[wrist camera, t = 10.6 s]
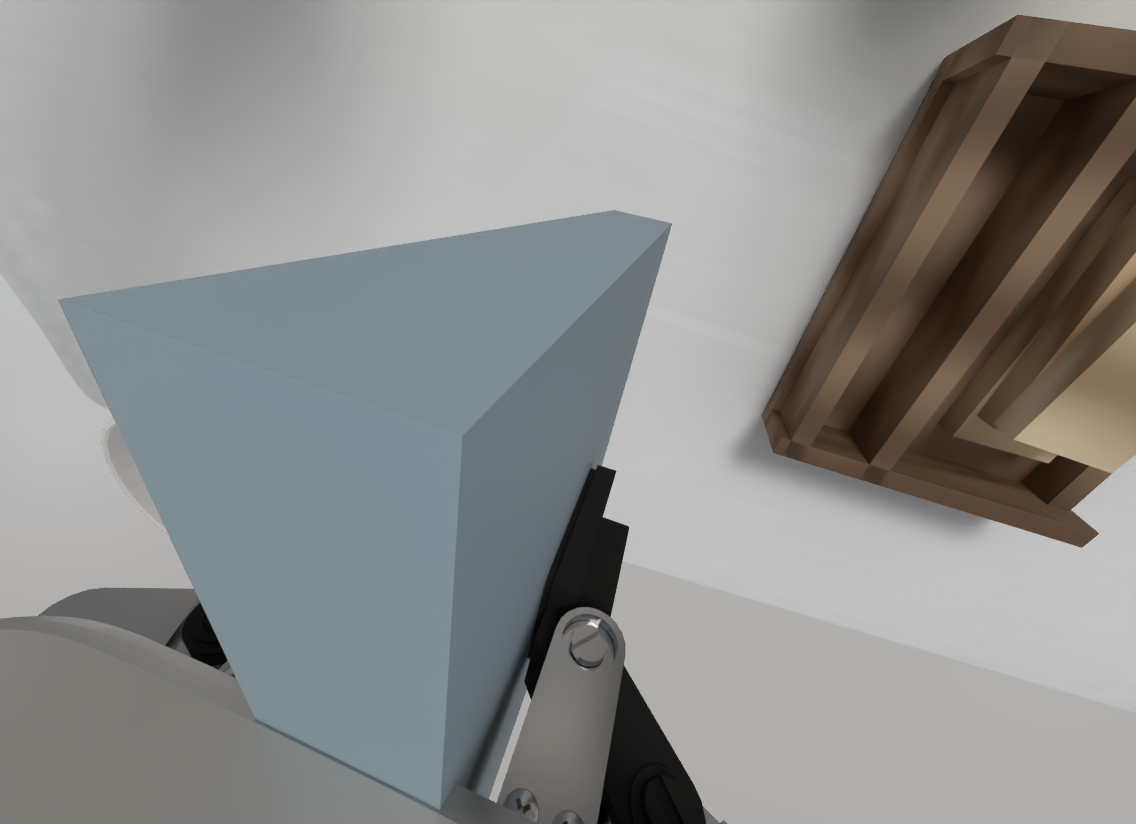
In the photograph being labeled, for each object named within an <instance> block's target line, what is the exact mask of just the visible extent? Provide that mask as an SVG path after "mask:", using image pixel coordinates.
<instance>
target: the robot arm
mask: <svg viewBox="0 0 1136 824" xmlns="http://www.w3.org/2000/svg"><path fill="white" fill-rule="evenodd" d="M615 474H616V471H615V470H612V469H609V468H606V467H603V466H600V465H597V468H596V470H595V469H592V468H590V471H589V473H588V476H587V478H586V481H585V483H584V486H583V488H582V491H581V493H580V496H579V498H578V501H577V503H576V506H575V508H574V511H573V513H572V516H571V518H570V521H569V523H568V526H567V528H566V531H565V533H564V536H563V538H562V541H561V543H560V546H559V548H558V551H557V553H556V556H555V558H554V561H553V563H552V566H551V568H550V571H549V574H548V577H547V580H546V583H545V587H544V591H543V595H542V599H541V603H540V607H539V611H538V615H537V619H536V623H535V627H534V631H533V635H532V639H531V643H530V647H529V651H528V655H527V658H529V659H530V661H529V665H528V669H527V673H526V676H525V680H524V683H525V685H526V688H527V690H528V693H529V695H530V698H531V703H530V706H529V709H528V712H527V715H526V718H525V721H524V724H523V726H522V729H521V732H520V736H519V738H518V741H517V744H516V747H515V750H514V753H513V756H512V759H511V762H510V765H509V768H508V771H507V774H506V777H505V780H504V783H503V785H502V788H501V792H500V795H499V797H498V800H497V803H495V802H493V801H491V800H489V799H487V798H485V797H483V796H481V795H479V794H477V793H475V792H473V791H471V790H468V789H466V788H464V787H462V786H460V785H458V784H455V785H454V787H453V789H452V790H451V792H450V794H449V796H448V797H447V799H446V801H445V802H444V804H443V806H442V808H441V809H440V810H438V809H436V808H434V807H432V806H430V805H428V804H426V803H424V802H422V801H420V800H418V799H416V798H414V797H412V796H410V795H408V794H406V793H404V792H402V791H400V790H398V789H396V788H394V787H392V786H390V785H388V784H386V783H384V782H382V781H380V780H378V779H376V778H374V777H372V776H370V775H368V774H366V773H364V772H362V771H359V770H357V769H355V768H353V767H351V766H349V765H347V764H345V763H343V762H341V761H339V760H337V759H335V758H333V757H331V756H329V755H327V754H325V753H323V752H321V751H319V750H317V749H315V748H313V747H311V746H309V745H307V744H305V743H303V742H301V741H299V740H297V739H295V738H293V737H291V736H289V735H286V734H284V733H282V732H280V731H278V730H276V729H274V728H272V727H270V726H268V725H266V724H264V723H262V722H260V721H258V720H256V719H255V717H254V715H253V713H252V711H251V708H250V706H249V704H248V702H247V700H246V698H245V696H244V694H243V691H242V689H241V687H240V685H239V683H238V681H237V679H236V677H235V675H234V672H233V670H232V668H231V666H230V664H229V662H228V660H227V658H226V655H225V653H224V651H223V649H222V647H221V645H220V643H219V641H218V638H217V636H216V634H215V632H214V630H213V628H212V626H211V624H210V621H209V619H208V617H207V615H206V613H205V611H204V609H203V607H202V605H201V602H200V600H199V598H198V596H197V594H196V592H195V590H194V589H166V588H165V589H164V588H161V589H160V588H158V589H157V588H99V589H90V590H86V591H83V592H80V593H77V594H74V595H71V596H68V597H67V598H65V599H63V600H61V601H59V602H57V603H55V604H53V605H51V606H50V607H49V608H47V609H46V610H45V611H44V612H42V613H41V614H40V615H39V616H28V617H12V618H2V619H0V824H727V823H726V822H725V821H722V822H721V823H719V822H718V821H717V820H716V819H715V818H714V817H713V816H712V815H711V814H710V813H709V812H708V811H707V810H706V809H705V808H704V807H703V806H702V802H701V799H700V797H699V795H698V793H697V791H696V788H695V786H694V784H693V783H692V781H691V779H690V777H689V776H688V774H687V772H686V771H685V769H684V767H683V765H682V764H681V762H680V760H679V759H678V757H677V755H676V754H675V752H674V750H673V748H672V747H671V745H670V743H669V742H668V740H667V738H666V736H665V735H664V733H663V731H662V730H661V728H660V726H659V725H658V723H657V721H656V719H655V718H654V716H653V714H652V713H651V711H650V709H649V708H648V706H647V704H646V702H645V701H644V699H643V697H642V696H641V694H640V692H639V690H638V689H637V687H636V685H635V684H634V682H633V680H632V678H631V677H630V675H629V674H628V672H627V670H626V668H625V667H624V659H625V641H624V638H623V634H622V632H621V630H620V629H619V627H618V625H617V624H616V622H615V621H614V620H613V619H612V618H610V617H611V612H612V607H613V602H614V598H615V593H616V588H617V583H618V579H619V574H620V569H621V564H622V560H623V555H624V550H625V545H626V541H627V536H628V531H629V526H626V525H623V524H620V523H617V522H615V521H612V520H609V519H606V518H603V514H604V510H605V507H606V504H607V500H608V497H609V494H610V490H611V487H612V484H613V480H614V477H615Z"/></svg>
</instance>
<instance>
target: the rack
mask: <svg viewBox="0 0 1136 824" xmlns="http://www.w3.org/2000/svg"><path fill="white" fill-rule="evenodd" d="M1129 178H1136V31H1133V30H1126V29H1119V28H1111V27H1104V26H1096V25H1089V24H1082V23H1074V22H1067V21H1060V20H1052V19H1045V18H1037V17H1030V16H1023V15H1017V16H1015V17H1013V18H1012V19H1010V20H1008V21H1006V22H1005V23H1003V24H1001V25H1000V26H998V27H996V28H995V29H993V30H991V31H989V32H988V33H986V34H984V35H983V36H981V37H979V38H977V39H976V40H974V41H972V42H971V43H969V44H967V45H965V46H964V47H962V48H960V49H959V50H957V51H955V52H953V53H952V54H950V55H948V56H947V57H945V59H944V61H943V63H942V65H941V67H940V69H939V71H938V73H937V75H936V77H935V79H934V81H933V83H932V85H931V87H930V89H929V91H928V93H927V95H926V96H925V98H924V100H923V102H922V104H921V106H920V108H919V110H918V112H917V114H916V116H915V118H914V120H913V122H912V124H911V126H910V128H909V130H908V132H907V134H906V136H905V138H904V139H903V141H902V143H901V145H900V147H899V149H898V151H897V153H896V155H895V157H894V159H893V161H892V163H891V165H890V167H889V169H888V171H887V173H886V175H885V177H884V179H883V181H882V182H881V184H880V186H879V188H878V190H877V192H876V194H875V196H874V198H873V200H872V202H871V204H870V206H869V208H868V210H867V212H866V214H865V216H864V218H863V220H862V222H861V224H860V225H859V227H858V229H857V231H856V233H855V235H854V237H853V239H852V241H851V243H850V245H849V247H848V249H847V251H846V253H845V255H844V257H843V259H842V261H841V263H840V265H839V267H838V268H837V270H836V272H835V274H834V276H833V278H832V280H831V282H830V284H829V286H828V288H827V290H826V292H825V294H824V296H823V298H822V300H821V302H820V304H819V306H818V308H817V310H816V311H815V313H814V315H813V317H812V319H811V321H810V323H809V325H808V327H807V329H806V331H805V333H804V335H803V337H802V339H801V341H800V343H799V345H798V347H797V349H796V351H795V353H794V354H793V356H792V358H791V360H790V362H789V364H788V366H787V368H786V370H785V372H784V374H783V376H782V378H781V380H780V382H779V384H778V386H777V388H776V390H775V392H774V394H773V396H772V397H771V399H770V401H769V403H768V405H767V407H766V409H765V411H764V413H763V415H762V417H763V420H764V423H765V427H766V430H767V434H768V437H769V440H770V444H771V447H772V450H773V453H776V454H779V455H782V456H786V457H789V458H792V459H795V460H799V461H802V462H805V463H808V464H812V465H815V466H818V467H821V468H825V469H828V470H831V471H834V472H838V473H841V474H844V475H847V476H851V477H854V478H857V479H860V480H864V481H867V482H870V483H873V484H877V485H880V486H883V487H886V488H890V489H893V490H896V491H899V492H903V493H906V494H909V495H912V496H916V497H919V498H922V499H926V500H929V501H932V502H935V503H939V504H942V505H945V506H948V507H952V508H955V509H958V510H961V511H965V512H968V513H971V514H974V515H978V516H981V517H984V518H987V519H991V520H994V521H997V522H1000V523H1004V524H1007V525H1010V526H1013V527H1017V528H1020V529H1023V530H1026V531H1030V532H1033V533H1036V534H1039V535H1043V536H1046V537H1049V538H1052V539H1056V540H1059V541H1062V542H1065V543H1069V544H1072V545H1075V546H1078V547H1083V546H1085V545H1086V544H1087V543H1088V542H1089V541H1091V540H1092V539H1093V538H1094V537H1096V536H1097V535H1098V534H1099V533H1098V532H1097V531H1095V530H1094V529H1093V528H1092V527H1091V526H1089V525H1088V524H1087V523H1086V522H1085V521H1083V520H1082V519H1081V518H1080V517H1079V516H1077V515H1076V514H1075V513H1074V512H1072V511H1071V509H1072V508H1073V507H1075V506H1076V505H1077V504H1078V503H1079V502H1080V501H1081V500H1082V499H1084V498H1085V497H1086V496H1087V495H1088V494H1089V493H1090V492H1091V491H1093V490H1094V489H1095V488H1096V487H1097V486H1098V485H1099V484H1101V483H1102V482H1103V481H1104V480H1105V479H1106V478H1107V477H1108V476H1110V475H1111V474H1112V473H1109V472H1106V471H1103V470H1100V469H1098V468H1095V467H1092V466H1089V465H1086V464H1083V463H1080V462H1077V461H1074V460H1071V459H1069V458H1066V457H1063V456H1060V455H1057V456H1056V457H1055V458H1054V459H1053V460H1052V461H1051V462H1050V463H1045V462H1042V461H1038V460H1035V459H1031V458H1028V457H1024V456H1020V455H1017V454H1013V453H1010V452H1006V451H1003V450H999V449H996V448H992V447H989V446H985V445H982V444H978V443H974V442H971V441H967V440H964V439H960V438H957V437H953V436H952V435H951V434H950V433H948V432H947V431H946V430H945V429H944V428H943V427H942V426H941V425H940V424H939V423H938V422H939V421H940V420H941V419H942V417H943V416H944V415H945V414H946V412H947V411H948V410H949V408H950V407H951V406H952V405H953V403H954V402H955V401H956V399H957V398H958V397H959V396H960V394H961V393H962V392H963V390H964V389H965V388H966V387H967V385H968V384H969V383H970V382H971V380H972V379H973V378H974V376H975V375H976V374H977V373H978V371H979V370H980V369H981V367H982V366H983V365H984V364H985V362H986V361H987V360H988V359H989V357H990V356H991V355H992V353H993V352H994V351H995V350H996V348H997V347H998V346H999V344H1000V343H1001V342H1002V341H1003V339H1004V338H1005V337H1006V335H1007V334H1008V333H1009V332H1010V330H1011V329H1012V328H1013V327H1014V325H1015V324H1016V323H1017V321H1018V320H1019V319H1020V318H1021V316H1022V315H1023V314H1024V312H1025V311H1026V310H1027V309H1028V307H1029V306H1030V305H1031V304H1032V302H1033V301H1034V300H1035V298H1036V297H1037V296H1038V295H1039V293H1040V292H1041V291H1042V289H1043V288H1044V287H1045V286H1046V284H1047V283H1048V282H1049V280H1050V279H1051V278H1052V277H1053V275H1054V274H1055V273H1056V272H1057V270H1058V269H1059V268H1060V266H1061V265H1062V264H1063V263H1064V261H1065V260H1066V259H1067V257H1068V256H1069V255H1070V254H1071V252H1072V251H1073V250H1074V248H1075V247H1076V246H1077V245H1078V243H1079V242H1080V241H1081V240H1082V238H1083V237H1084V236H1085V234H1086V233H1087V232H1088V231H1089V229H1090V228H1091V227H1092V225H1093V224H1094V223H1095V222H1096V220H1097V219H1098V218H1099V217H1100V215H1101V214H1102V213H1103V211H1104V210H1105V209H1106V208H1107V206H1108V205H1109V204H1110V202H1111V201H1112V200H1113V199H1114V197H1115V196H1116V195H1117V193H1118V192H1119V191H1120V190H1121V188H1122V187H1123V186H1124V185H1125V183H1126V182H1127V181H1128V179H1129Z"/></svg>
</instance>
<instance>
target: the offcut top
mask: <svg viewBox="0 0 1136 824" xmlns="http://www.w3.org/2000/svg"><path fill="white" fill-rule="evenodd" d="M992 424H994V425H995V426H996V427H998V428H999V429H1000V430H1002V431H1003V432H1004V433H1006V434H1007V435H1008V436H1010V437H1011V438H1012V439H1014V440H1016V441H1019V442H1022V443H1025V444H1028V445H1031V446H1034V447H1037V448H1040V449H1042V450H1045V451H1048V452H1051V453H1054V454H1057V455H1060V456H1063V457H1066V458H1069V459H1071V460H1074V461H1077V462H1080V463H1083V464H1086V465H1089V466H1092V467H1095V468H1098V469H1100V470H1103V471H1106V472H1109V473H1113V472H1114V471H1115V470H1117V469H1118V468H1119V467H1120V466H1122V465H1123V464H1124V463H1126V462H1127V461H1128V460H1129V459H1131V458H1132V457H1133V456H1134V455H1136V278H1135V279H1134V280H1133V281H1132V282H1131V283H1130V284H1129V285H1128V286H1127V287H1126V288H1125V289H1124V290H1123V291H1122V292H1121V293H1120V294H1119V295H1118V296H1117V297H1116V298H1115V299H1114V300H1113V301H1112V302H1111V303H1110V304H1109V305H1108V306H1107V307H1106V308H1105V309H1104V310H1103V311H1102V312H1101V313H1100V314H1099V315H1098V317H1097V318H1096V319H1095V320H1094V321H1093V322H1092V323H1091V324H1090V325H1089V326H1088V327H1087V328H1086V329H1085V330H1084V331H1083V332H1082V333H1081V334H1080V335H1079V336H1078V337H1077V338H1076V339H1075V340H1074V341H1073V342H1072V343H1071V344H1070V345H1069V346H1068V347H1067V348H1066V349H1065V350H1064V351H1063V352H1062V353H1061V354H1060V355H1059V356H1058V357H1057V358H1056V359H1055V360H1054V361H1053V362H1052V363H1051V364H1050V365H1049V366H1048V367H1047V368H1046V369H1045V370H1044V372H1043V373H1042V374H1041V375H1040V376H1039V377H1038V378H1037V379H1036V380H1035V381H1034V382H1033V383H1032V384H1031V385H1030V386H1029V387H1028V388H1027V389H1026V390H1025V391H1024V392H1023V393H1022V394H1021V395H1020V396H1019V397H1018V398H1017V399H1016V400H1015V401H1014V402H1013V403H1012V404H1011V405H1010V406H1009V407H1008V408H1007V409H1006V410H1005V411H1004V412H1003V413H1002V414H1001V415H1000V416H999V417H998V418H997V419H996V420H995V421H994V422H993V423H992Z"/></svg>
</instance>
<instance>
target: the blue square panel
mask: <svg viewBox="0 0 1136 824" xmlns="http://www.w3.org/2000/svg"><path fill="white" fill-rule="evenodd" d="M671 226H672V223H668V222H663V221H659V220H654V219H650V218H646V217H641V216H637V215H633V214H628V213H624V212H620V211H615V210H613V211H607V212H601V213H594V214H588V215H582V216H576V217H570V218H563V219H557V220H551V221H545V222H538V223H532V224H526V225H520V226H514V227H507V228H501V229H495V230H489V231H483V232H476V233H470V234H464V235H458V236H452V237H445V238H439V239H433V240H427V241H421V242H414V243H408V244H402V245H396V246H389V247H383V248H377V249H371V250H365V251H358V252H352V253H346V254H340V255H334V256H327V257H321V258H315V259H309V260H303V261H296V262H290V263H284V264H278V265H271V266H265V267H259V268H253V269H247V270H240V271H234V272H228V273H222V274H216V275H209V276H203V277H197V278H191V279H185V280H178V281H172V282H166V283H160V284H154V285H147V286H141V287H135V288H129V289H122V290H116V291H110V292H104V293H98V294H91V295H85V296H79V297H73V298H67V299H60V300H58V301H59V303H60V305H61V308H62V310H63V312H64V314H65V316H66V318H67V320H68V322H69V325H70V327H71V329H72V331H73V333H74V335H75V337H76V339H77V341H78V344H79V346H80V348H81V350H82V352H83V354H84V356H85V358H86V361H87V363H88V365H89V367H90V369H91V371H92V373H93V375H94V378H95V380H96V382H97V384H98V386H99V388H100V390H101V392H102V395H103V397H104V399H105V401H106V403H107V405H108V407H109V409H110V411H111V413H112V416H113V418H114V420H115V422H116V424H117V426H118V428H119V431H120V433H121V435H122V437H123V439H124V441H125V443H126V445H127V448H128V450H129V452H130V454H131V456H132V458H133V460H134V462H135V465H136V467H137V469H138V471H139V473H140V475H141V477H142V479H143V481H144V484H145V486H146V488H147V490H148V492H149V494H150V496H151V498H152V501H153V503H154V505H155V507H156V509H157V511H158V513H159V515H160V518H161V520H162V522H163V524H164V526H165V528H166V530H167V532H168V535H169V537H170V539H171V541H172V543H173V545H174V547H175V549H176V551H177V554H178V556H179V558H180V560H181V562H182V564H183V566H184V568H185V570H186V572H187V575H188V577H189V579H190V581H191V583H192V585H193V587H194V590H195V592H196V594H197V596H198V598H199V600H200V602H201V605H202V607H203V609H204V611H205V613H206V615H207V617H208V619H209V621H210V624H211V626H212V628H213V630H214V632H215V634H216V636H217V638H218V641H219V643H220V645H221V647H222V649H223V651H224V653H225V655H226V658H227V660H228V662H229V664H230V666H231V668H232V670H233V672H234V675H235V677H236V679H237V681H238V683H239V685H240V687H241V689H242V691H243V694H244V696H245V698H246V700H247V702H248V704H249V706H250V708H251V711H252V713H253V715H254V717H255V719H256V720H258V721H260V722H262V723H264V724H266V725H268V726H270V727H272V728H274V729H276V730H278V731H280V732H282V733H284V734H286V735H289V736H291V737H293V738H295V739H297V740H299V741H301V742H303V743H305V744H307V745H309V746H311V747H313V748H315V749H317V750H319V751H321V752H323V753H325V754H327V755H329V756H331V757H333V758H335V759H337V760H339V761H341V762H343V763H345V764H347V765H349V766H351V767H353V768H355V769H357V770H359V771H362V772H364V773H366V774H368V775H370V776H372V777H374V778H376V779H378V780H380V781H382V782H384V783H386V784H388V785H390V786H392V787H394V788H396V789H398V790H400V791H402V792H404V793H406V794H408V795H410V796H412V797H414V798H416V799H418V800H420V801H422V802H424V803H426V804H428V805H430V806H432V807H434V808H436V809H438V810H440V809H441V808H442V806H443V804H444V802H445V801H446V799H447V797H448V796H449V794H450V792H451V790H452V789H453V787H454V785H455V784H458V785H460V786H462V787H464V788H466V789H468V790H471V791H473V792H475V793H477V794H479V795H481V796H483V797H485V798H487V799H489V796H490V793H491V790H492V787H493V785H494V782H495V779H496V776H497V773H498V770H499V767H500V765H501V762H502V759H503V756H504V753H505V750H506V748H507V745H508V742H509V739H510V736H511V733H512V730H513V727H514V725H515V722H516V719H517V716H518V713H519V710H520V707H521V704H522V702H523V699H524V696H525V693H526V690H527V688H526V685H525V683H524V680H525V676H526V673H527V669H528V665H529V661H530V659H529V658H527V655H528V651H529V647H530V643H531V639H532V635H533V631H534V627H535V623H536V619H537V615H538V611H539V607H540V603H541V599H542V595H543V591H544V587H545V583H546V580H547V577H548V574H549V571H550V568H551V566H552V563H553V561H554V558H555V556H556V553H557V551H558V548H559V546H560V543H561V541H562V538H563V536H564V533H565V531H566V528H567V526H568V523H569V521H570V518H571V516H572V513H573V511H574V508H575V506H576V503H577V501H578V498H579V496H580V493H581V491H582V488H583V486H584V483H585V481H586V478H587V476H588V473H589V471H590V468H592V469H595V470H596V468H597V465H600V466H602V463H603V459H604V456H605V452H606V449H607V446H608V442H609V439H610V435H611V432H612V428H613V425H614V422H615V418H616V415H617V411H618V408H619V404H620V401H621V397H622V394H623V391H624V387H625V384H626V380H627V377H628V373H629V370H630V367H631V363H632V360H633V356H634V353H635V349H636V346H637V342H638V339H639V336H640V332H641V329H642V325H643V322H644V318H645V315H646V312H647V308H648V305H649V301H650V298H651V294H652V291H653V287H654V284H655V281H656V277H657V274H658V270H659V267H660V263H661V260H662V257H663V253H664V250H665V246H666V243H667V239H668V236H669V232H670V229H671Z"/></svg>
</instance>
